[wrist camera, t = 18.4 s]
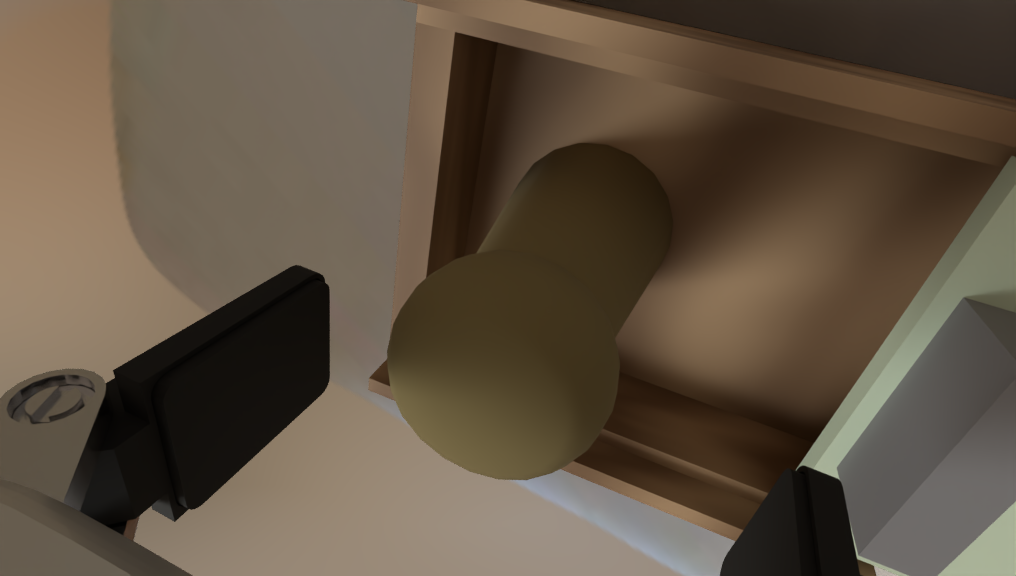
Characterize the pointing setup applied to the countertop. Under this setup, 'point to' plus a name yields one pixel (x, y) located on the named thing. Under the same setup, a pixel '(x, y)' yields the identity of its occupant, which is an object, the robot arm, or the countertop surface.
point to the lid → (939, 415)
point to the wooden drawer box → (704, 219)
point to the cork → (532, 317)
